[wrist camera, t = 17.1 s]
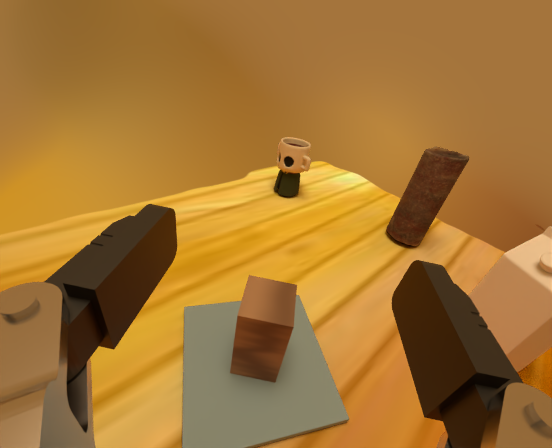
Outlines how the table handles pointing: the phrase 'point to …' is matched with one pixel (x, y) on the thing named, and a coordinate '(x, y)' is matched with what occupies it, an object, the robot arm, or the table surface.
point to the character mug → (291, 164)
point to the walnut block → (263, 328)
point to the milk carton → (519, 300)
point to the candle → (425, 194)
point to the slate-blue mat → (252, 385)
